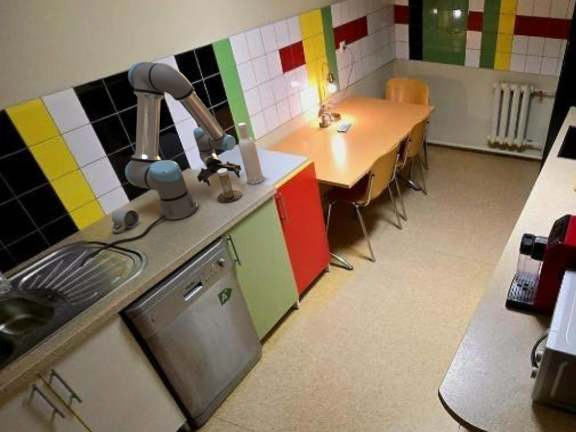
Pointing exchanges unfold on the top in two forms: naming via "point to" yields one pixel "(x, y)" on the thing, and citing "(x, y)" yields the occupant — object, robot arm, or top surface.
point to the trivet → (235, 197)
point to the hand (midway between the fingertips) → (223, 179)
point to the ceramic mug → (124, 219)
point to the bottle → (249, 156)
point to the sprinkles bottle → (225, 182)
